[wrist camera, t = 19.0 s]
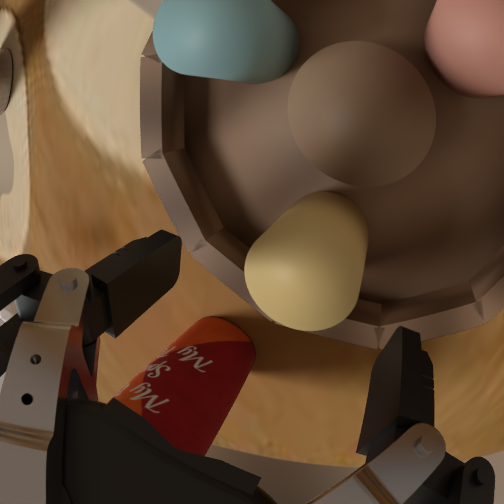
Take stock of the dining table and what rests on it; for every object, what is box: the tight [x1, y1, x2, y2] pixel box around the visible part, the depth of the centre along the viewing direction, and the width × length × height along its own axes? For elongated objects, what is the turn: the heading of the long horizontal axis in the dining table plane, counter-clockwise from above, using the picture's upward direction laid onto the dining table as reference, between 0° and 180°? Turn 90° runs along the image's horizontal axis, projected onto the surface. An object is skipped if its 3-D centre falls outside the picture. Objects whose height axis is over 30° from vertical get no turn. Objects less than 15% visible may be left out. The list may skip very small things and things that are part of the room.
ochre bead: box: [244, 191, 369, 331], centre depth 13 cm, size 4×4×5 cm
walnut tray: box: [140, 0, 504, 350], centre depth 12 cm, size 22×22×3 cm
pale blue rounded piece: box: [153, 0, 300, 84], centre depth 10 cm, size 4×4×5 cm
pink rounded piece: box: [423, 0, 504, 98], centre depth 6 cm, size 4×4×5 cm
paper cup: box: [106, 317, 256, 456], centre depth 18 cm, size 8×8×14 cm
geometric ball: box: [0, 302, 17, 322], centre depth 35 cm, size 8×8×8 cm
